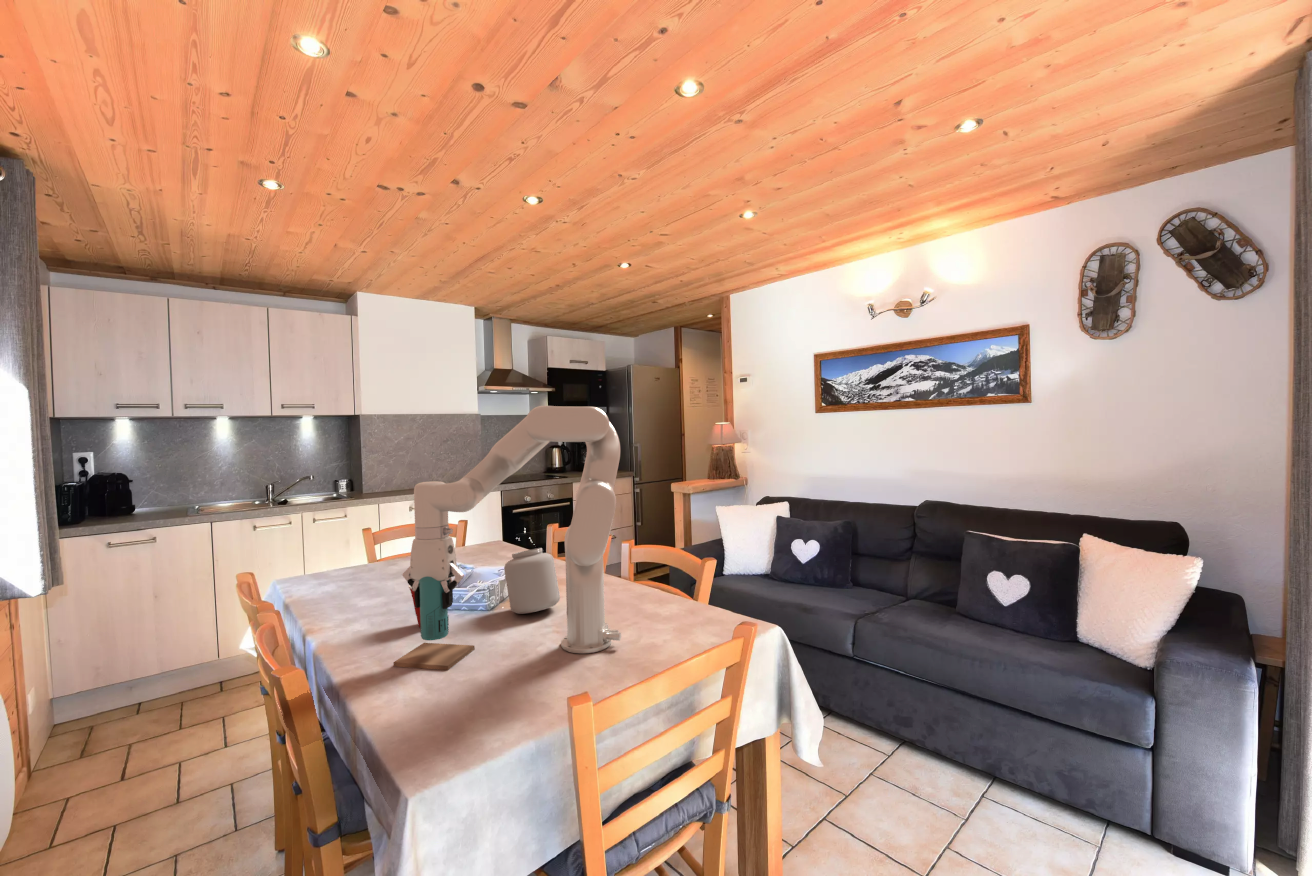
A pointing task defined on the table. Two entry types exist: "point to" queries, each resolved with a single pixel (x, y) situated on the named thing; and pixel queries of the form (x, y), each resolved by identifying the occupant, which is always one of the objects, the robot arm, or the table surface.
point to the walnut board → (434, 656)
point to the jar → (531, 581)
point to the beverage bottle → (432, 610)
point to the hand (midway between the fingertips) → (433, 606)
